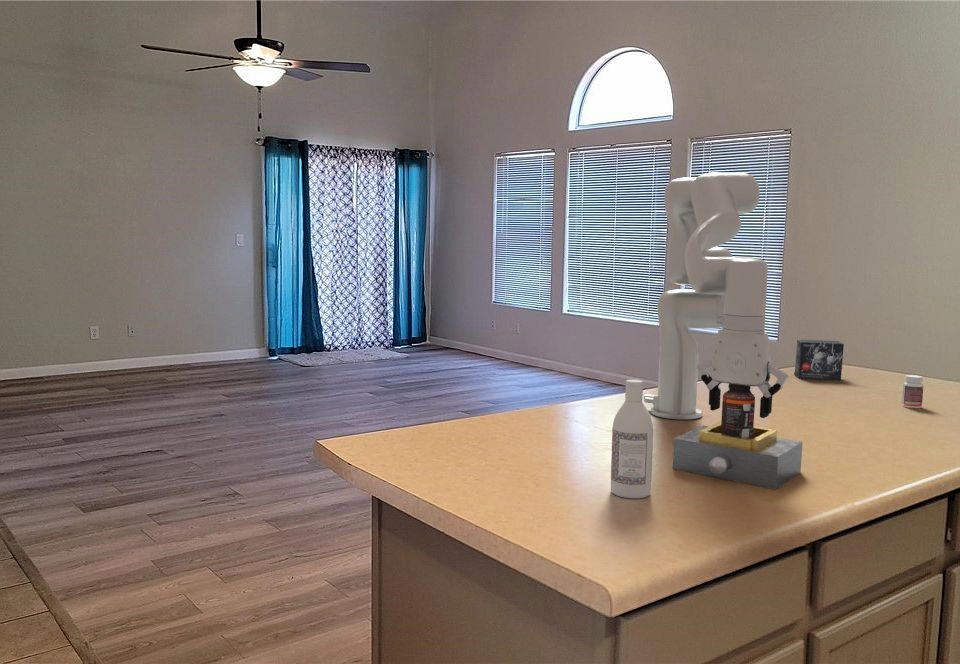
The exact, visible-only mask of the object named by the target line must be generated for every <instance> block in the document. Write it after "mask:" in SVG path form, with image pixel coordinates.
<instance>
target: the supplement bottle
mask: <svg viewBox="0 0 960 664" xmlns="http://www.w3.org/2000/svg"><path fill="white" fill-rule="evenodd" d="M751 387H752V386H744V385H736V384H728V390H727V391H725V392H724V393H723V395H722V403H721V407H722V408H721V421H720V422H721V434H725V435H731V436H737V437H743V438H749V439H753V427H754V424H755V422H754V421H755V406H756V396H755V394H753V393H752V391H751Z"/></svg>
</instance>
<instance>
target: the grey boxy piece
mask: <svg viewBox="0 0 960 664" xmlns="http://www.w3.org/2000/svg"><path fill="white" fill-rule="evenodd" d="M777 435H778V430H775V429H772V428H768V427H767V428H765V427H760V426H754V427H753V439H749V438H743V437H737V436H731V435H725V434H721V421H718V422H716V423H714V424H712V425H710V426H709V425H708V426H707V425H701V426H698V427H697V428H694V429H691V430H689V431H686V432H685V433H683V434H680V435H678V436H675V437H674V438H673V445H672V446H673V448H672V449H673V450H672V467H671V468H672V469H674V470H679V471H683V472H687V473H694V474H698V475H703V476H708V477H712V478H713V477H714V478H718V479H723V480H729V481H732V482H737V483H742V484H748V485H752V486H757V487H761V488H767V489H771V490H777V489H779V488H781V487H782V486H783V485H784V484H785V485H786V483H787V482H789V481H790V480H792V479H794V477H796V476H797V475H799V474H800V473H801V471H802V458H803V457H802V456H803V455H802V453H803V441H800V440H796V439H795V440H794V439H793V440H792V439H787V438H780V437H778V436H777Z"/></svg>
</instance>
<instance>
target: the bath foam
mask: <svg viewBox="0 0 960 664" xmlns="http://www.w3.org/2000/svg"><path fill="white" fill-rule="evenodd" d="M624 392H625V396H624V397H625V399H624V400H625V401H624V402H623V403H622V404H621V406H620V407H619V409H618V410H617V411H616V414H615V416H614V419H613V423H612V429H611V430H612V432H611V433H612V434H611V435H612V437H611V438H612V439H611V459H610V460H611V461H610V463H611V465H610V492H611V493H612V494H613V495H615V496H617V497H621V498H624V499H633V500H634V499H643V498H647V497H648V496H649V495H651V493H652V491H651V490H652V473H653V468H652V467H653V445H654V444H653V443H654V423H653V420H652V417H651V414H650V412H649V411H648V409H647V407H646V405H645V403H644V402H643V399H644V397H643V395H644V393H643V392H644V381H643V380H642V379H641V380H640V379H626V380H625V391H624Z"/></svg>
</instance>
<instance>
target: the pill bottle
mask: <svg viewBox="0 0 960 664" xmlns="http://www.w3.org/2000/svg"><path fill="white" fill-rule="evenodd" d="M923 381H924V380H923V376H920V375H913V374H907V375H905V382H904V383H903V386H902V398H901V399H902V400H901V401H902V402H901V403H902V404H901V405H902V407H903V408H908V409H921V408H923V397H924V384H923Z"/></svg>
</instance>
